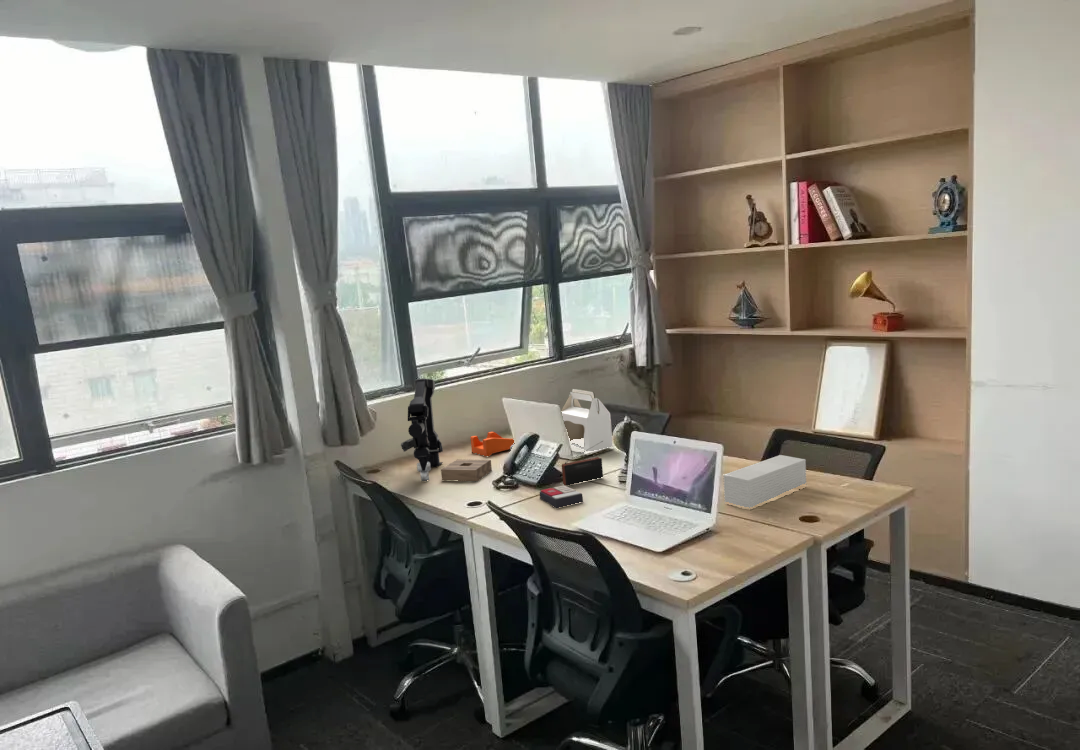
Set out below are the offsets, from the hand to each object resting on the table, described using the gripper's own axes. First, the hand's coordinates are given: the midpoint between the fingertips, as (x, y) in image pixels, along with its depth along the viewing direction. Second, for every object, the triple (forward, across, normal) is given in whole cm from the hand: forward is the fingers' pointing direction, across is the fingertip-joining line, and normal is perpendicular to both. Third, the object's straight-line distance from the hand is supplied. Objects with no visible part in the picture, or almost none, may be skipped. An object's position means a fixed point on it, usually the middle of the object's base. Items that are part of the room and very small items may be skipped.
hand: (423, 467), depth 328 cm
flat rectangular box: (+6, +49, +51) cm, 71 cm away
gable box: (+6, -22, +74) cm, 78 cm away
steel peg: (+6, 0, 0) cm, 6 cm away
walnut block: (+6, 0, +18) cm, 19 cm away
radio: (+6, +28, +64) cm, 70 cm away
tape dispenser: (+6, -39, +32) cm, 51 cm away
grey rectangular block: (+6, +71, +121) cm, 140 cm away
